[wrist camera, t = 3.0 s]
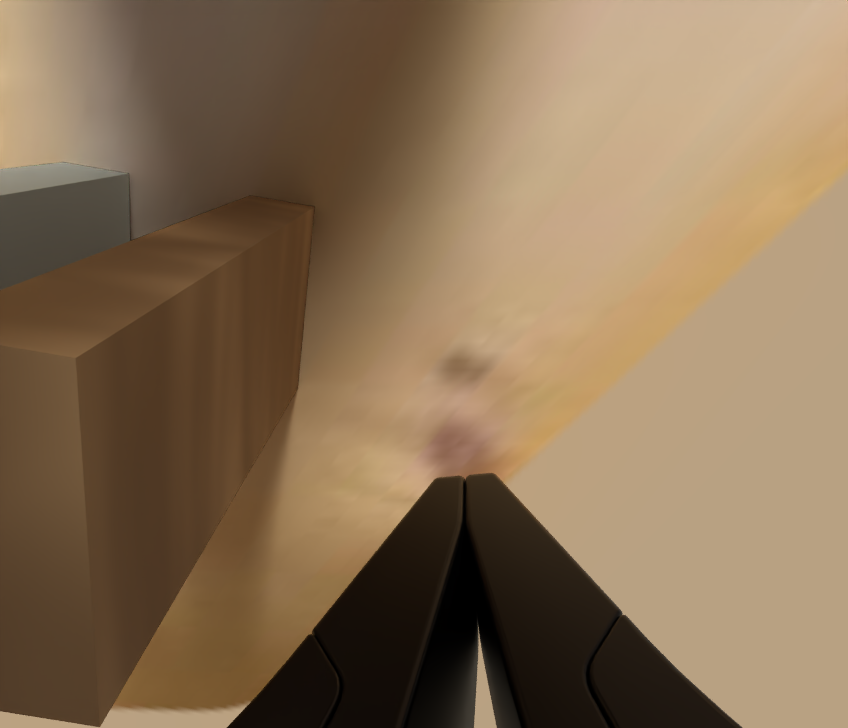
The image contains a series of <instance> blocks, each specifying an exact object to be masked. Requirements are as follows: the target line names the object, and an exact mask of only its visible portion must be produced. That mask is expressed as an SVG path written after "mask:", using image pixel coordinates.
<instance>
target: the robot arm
mask: <svg viewBox="0 0 848 728" xmlns="http://www.w3.org/2000/svg"><path fill="white" fill-rule="evenodd" d="M478 627H479V634H480V641H481V647H482V653H483V659H484V664H485V669H486V674H487V679H488V685H489V689H490V695H491V700H492V704H493V710H494V715H495V720H496V725H497V728H742V727H741V726H740V725H739V724H737V723H736V722H735V721H734V720H733V719H732V718H731V717H729V716H728V715H727V714H726V713H725V712H724V711H723V710H721V709H720V708H719V707H718V706H717V705H716V704H715V703H714V702H713V701H711V700H710V699H709V698H708V697H707V696H706V695H705V694H704V693H703V692H701V690H699V689H698V688H697V687H696V686H695V685H694V684H693V683H692V682H691V681H689V680H688V679H687V678H686V677H685V676H684V675H683V674H682V673H681V672H680V671H679V670H678V669H677V668H676V667H675V666H674V665H673V664H672V663H671V662H670V661H669V660H668V659H667V658H666V657H665V656H664V655H663V654H662V653H661V652H660V651H659V650H658V649H657V648H656V647H655V646H654V645H653V644H652V643H651V642H650V641H649V640H648V639H647V638H646V637H645V636H644V635H643V634H642V632H640V630H639V629H638V628H637V627H636V626H635V625H634V624H633V623H632V622H631V620H630V619H629V618H628V617H627V616H626V615H622V611H621V610H620V609H619V608H618V607H617V606H616V604H615V603H614V602H613V601H612V600H611V599H610V598H609V597H608V596H607V595H606V594H605V593H604V591H603V590H601V588H600V587H599V586H598V585H597V584H596V583H595V582H594V581H593V580H592V578H591V577H590V576H589V575H588V574H587V573H586V572H585V571H584V570H583V569H582V568H581V567H580V566H579V564H578V563H577V562H576V561H575V560H574V559H573V558H572V557H571V556H570V555H569V554H568V553H567V551H566V550H565V549H564V548H563V547H562V546H561V545H560V544H559V543H558V542H557V540H556V539H555V538H554V537H553V536H552V535H551V534H550V533H549V532H548V531H547V530H546V529H545V527H543V525H541V523H540V522H539V521H538V520H537V519H536V518H535V517H534V516H533V515H532V514H531V512H530V511H529V510H528V509H527V508H526V507H525V506H524V505H523V504H522V503H521V502H520V501H519V499H518V498H517V497H516V496H515V495H514V494H513V493H512V492H511V491H510V490H509V489H508V487H507V486H506V485H505V484H504V483H503V482H502V481H501V480H500V479H499V478H498V477H497V475H495V474H493V473H485V474H474V475H469V476H467V477H466V480H465V479H464V477H462V476H451V477H439V478H436V479H435V480H434V481H433V482H432V483H431V484H430V486H429V487H428V488H427V489H426V491H425V492H424V493H423V494H422V495H421V497H420V498H419V499H418V500H417V502H416V503H415V504H414V505H413V507H412V508H411V509H410V510H409V512H408V513H407V514H406V515H405V516H404V518H403V519H402V520H401V521H400V523H399V524H398V525H397V526H396V528H395V529H394V530H393V531H392V533H391V534H390V535H389V536H388V537H387V539H386V540H385V541H384V542H383V544H382V545H381V546H380V547H379V549H378V550H377V551H376V552H375V554H374V555H373V556H372V557H371V558H370V560H369V561H368V562H367V563H366V565H365V566H364V567H363V568H362V570H361V571H360V572H359V573H358V575H357V576H356V577H355V578H354V579H353V581H352V582H351V583H350V584H349V586H348V587H347V588H346V589H345V591H344V592H343V593H342V594H341V596H340V597H339V598H338V599H337V600H336V602H335V603H334V604H333V605H332V607H331V608H330V609H329V610H328V612H327V613H326V614H325V615H324V617H323V618H322V619H321V620H320V621H319V623H318V624H317V625H316V626H315V628H314V629H313V631H312V634H313V635H312V634H310V635H308V636H307V637H306V638H305V640H304V641H303V642H302V643H301V645H300V646H299V647H298V648H297V649H296V651H295V652H294V653H293V654H292V656H291V657H290V658H289V659H288V660H287V662H286V663H285V664H284V665H283V666H282V667H281V669H280V670H279V671H278V672H277V673H276V674H275V676H274V677H273V678H272V679H271V680H270V681H269V683H268V684H267V685H266V686H265V687H264V688H263V690H262V691H261V692H260V693H259V694H258V695H257V696H256V697H255V698H254V699H253V700H252V701H251V703H250V704H249V705H248V706H247V707H246V708H245V709H244V710H243V711H242V712H241V713H240V714H239V715H238V716H237V717H236V718H235V720H234V721H233V722H232V723H231V724H230V725H229V726H228V727H227V728H474V715H475V698H476V681H477V664H478V663H477V662H478Z"/></svg>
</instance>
